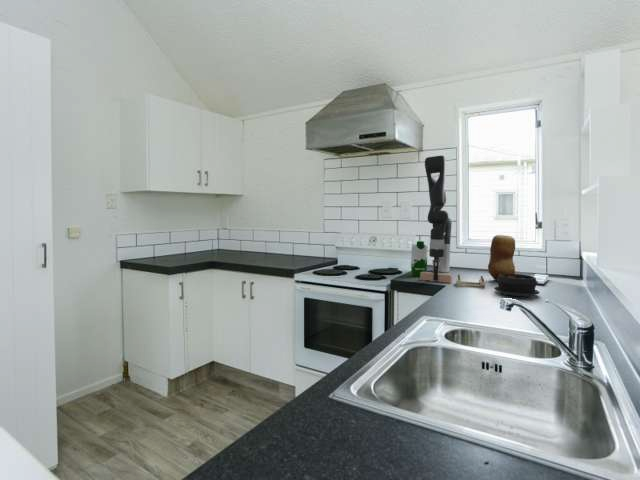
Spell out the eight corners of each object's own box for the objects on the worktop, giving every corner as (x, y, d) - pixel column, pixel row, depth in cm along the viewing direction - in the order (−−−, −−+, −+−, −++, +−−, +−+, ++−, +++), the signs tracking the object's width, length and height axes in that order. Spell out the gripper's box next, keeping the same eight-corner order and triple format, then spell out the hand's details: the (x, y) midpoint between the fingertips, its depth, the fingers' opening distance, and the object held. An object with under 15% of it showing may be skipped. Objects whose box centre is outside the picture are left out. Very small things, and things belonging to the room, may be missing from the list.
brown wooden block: (422, 278, 218) (422, 271, 218) (452, 281, 210) (452, 274, 210) (420, 279, 215) (420, 272, 214) (450, 282, 207) (450, 275, 206)
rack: (456, 282, 208) (456, 274, 207) (483, 284, 203) (483, 275, 203) (456, 286, 198) (457, 277, 198) (484, 288, 194) (485, 279, 194)
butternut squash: (517, 284, 206) (519, 236, 204) (489, 282, 208) (492, 235, 206) (510, 279, 219) (512, 234, 217) (484, 278, 222) (486, 233, 220)
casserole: (493, 287, 196) (493, 270, 195) (535, 291, 189) (536, 273, 188) (494, 298, 172) (495, 279, 172) (543, 302, 166) (544, 282, 165)
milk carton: (412, 276, 225) (413, 241, 224) (410, 274, 234) (411, 240, 233) (427, 277, 224) (429, 241, 223) (425, 274, 233) (426, 240, 232)
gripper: (430, 246, 219) (429, 277, 220) (428, 248, 206) (427, 281, 207) (444, 247, 217) (443, 278, 218) (443, 249, 203) (442, 282, 205)
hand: (435, 279), depth 212 cm, fingers closed on brown wooden block, 4 cm apart
